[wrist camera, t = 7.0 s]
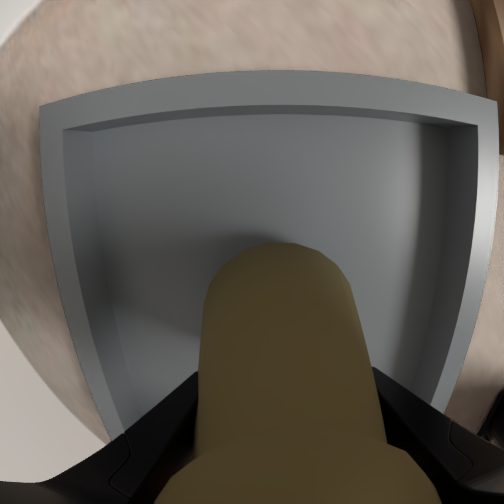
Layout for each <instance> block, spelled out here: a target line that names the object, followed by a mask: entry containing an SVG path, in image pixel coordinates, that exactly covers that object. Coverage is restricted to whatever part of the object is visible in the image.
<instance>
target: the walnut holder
mask: <svg viewBox="0 0 504 504" xmlns="http://www.w3.org/2000/svg"><path fill="white" fill-rule="evenodd" d="M471 4H472V8H473V12H474V16H475V20H476V25H477V29H478V34H479V39H480V45H481V50H482V56H483V63H484V70H485V78H486V86H487V96H488V99H490V100H493V101H497V108H498V126H499V155H504V0H471Z"/></svg>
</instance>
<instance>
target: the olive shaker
mask: <svg viewBox="0 0 504 504" xmlns="http://www.w3.org/2000/svg"><path fill="white" fill-rule="evenodd" d="M154 504H442V502H441V500H440V498H439V495H438V493H437V490H436V488H435V486H434V485H433V483H432V482H431V481H430V479H429V478H428V477H427V475H426V474H425V473H424V471H423V470H422V469H421V468H420V467H419V466H418V465H417V463H416V462H415V461H414V460H413V459H412V458H411V456H410V455H409V454H408V453H407V452H406V451H404V450H401V449H399V448H396V447H394V446H391V445H389V444H387V439H386V434H385V428H384V423H383V418H382V413H381V408H380V403H379V398H378V393H377V389H376V384H375V380H374V375H373V371H372V366H371V362H370V358H369V354H368V350H367V346H366V342H365V338H364V334H363V330H362V326H361V322H360V318H359V315H358V311H357V307H356V304H355V300H354V296H353V293H352V289H351V286H350V283H349V282H348V280H347V279H346V277H345V275H344V274H343V272H342V271H341V269H340V268H339V266H338V265H337V264H336V263H334V262H333V261H332V260H330V259H329V258H328V257H326V256H325V255H324V254H322V253H321V252H320V251H318V250H315V249H312V248H308V247H305V246H302V245H299V244H296V243H267V244H263V245H260V246H257V247H254V248H250V249H247V250H244V251H242V252H241V253H240V254H238V255H237V256H235V257H234V258H232V259H231V260H230V261H228V262H227V263H225V264H224V265H223V266H222V267H221V269H220V270H219V272H218V273H217V274H216V276H215V277H214V278H213V280H212V281H211V283H210V284H209V288H208V291H207V295H206V298H205V302H204V305H203V316H202V327H201V339H200V351H199V364H198V405H197V411H196V417H195V426H194V447H193V461H191V462H190V463H189V464H188V465H186V466H185V467H184V468H182V469H181V470H180V471H179V472H177V473H176V474H175V475H173V476H172V477H171V478H170V479H169V481H168V482H167V484H166V485H165V487H164V488H163V490H162V491H161V493H160V494H159V496H158V497H157V499H156V500H155V503H154Z"/></svg>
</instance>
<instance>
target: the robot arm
mask: <svg viewBox="0 0 504 504" xmlns="http://www.w3.org/2000/svg"><path fill="white" fill-rule="evenodd" d="M372 371H373V375H374V380H375V384H376V389H377V393H378V398H379V403H380V408H381V413H382V418H383V423H384V428H385V434H386V439H387V444H389V445H391V446H394V447H396V448H399V449H401V450H404V451H406V452H407V453H408V454H409V455H410V456H411V458H412V459H413V460H414V461H415V462H416V463H417V465H418V466H419V467H420V468H421V469H422V470H423V471H424V473H425V474H426V475H427V477H428V478H429V479H430V481H431V482H432V483H433V485H434V486H435V488H436V490H437V493H438V495H439V498H440V500H441V502H442V504H504V391H502V392H501V393H500V394H499V396H498V398H497V400H496V402H495V404H494V406H493V408H492V410H491V412H490V414H489V416H488V418H487V420H486V421H485V423H484V425H483V427H482V429H481V431H480V432H479V434H478V436H477V435H476V434H474V433H472V432H471V431H469V430H467V429H466V428H464V427H463V426H461V425H460V424H458V423H457V422H455V421H451V419H450V418H449V417H447V416H446V415H444V414H443V413H441V412H440V411H438V410H437V409H436V408H434V407H433V406H431V405H430V404H428V403H427V402H425V401H424V400H422V399H421V398H419V397H418V396H416V395H415V394H413V393H412V392H411V391H409V390H408V389H406V388H405V387H403V386H402V385H400V384H399V383H397V382H396V381H395V380H393V379H392V378H390V377H389V376H387V375H386V374H384V373H383V372H382V371H380V370H379V369H377V368H376V367H374V366H372ZM197 405H198V371H196V372H194V373H193V374H192V375H191V376H189V377H188V378H187V379H186V380H185V381H184V382H182V383H181V384H180V385H179V386H178V387H177V388H176V389H174V390H173V391H172V392H171V393H170V394H168V395H167V396H166V397H165V398H164V399H163V400H161V401H160V402H159V403H158V404H157V405H155V406H154V407H153V408H152V409H151V410H150V411H148V412H147V413H146V414H145V415H143V416H142V417H141V418H140V419H139V420H137V421H136V422H135V423H134V424H133V425H131V426H130V427H129V428H128V429H126V430H125V431H124V433H121V434H120V435H119V436H118V437H116V438H115V439H114V440H113V441H111V442H110V443H109V444H107V445H106V446H105V447H103V448H102V449H100V450H99V451H97V452H96V453H94V454H93V455H91V456H90V457H88V458H86V459H85V460H83V461H81V462H80V463H78V464H76V465H75V466H73V467H71V468H69V469H68V470H66V471H64V472H62V473H61V474H59V475H57V476H55V477H53V478H51V479H49V480H46V481H43V482H37V483H21V482H6V481H0V504H154V503H155V500H156V499H157V497H158V496H159V494H160V493H161V491H162V490H163V488H164V487H165V485H166V484H167V482H168V481H169V479H170V478H171V477H172V476H173V475H175V474H176V473H177V472H179V471H180V470H181V469H182V468H184V467H185V466H186V465H188V464H189V463H190V462H191V461H193V447H194V426H195V417H196V411H197Z"/></svg>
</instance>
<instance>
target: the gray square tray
mask: <svg viewBox="0 0 504 504" xmlns="http://www.w3.org/2000/svg"><path fill="white" fill-rule="evenodd" d="M39 127H40V161H41V176H42V188H43V198H44V207H45V215H46V223H47V230H48V236H49V242H50V248H51V254H52V259H53V265H54V270H55V274H56V279H57V284H58V288H59V292H60V296H61V301H62V305H63V309H64V312H65V316H66V320H67V323H68V327H69V330H70V334H71V337H72V340H73V344H74V347H75V350H76V353H77V356H78V359H79V362H80V365H81V368H82V371H83V374H84V377H85V379H86V382H87V385H88V387H89V390H90V393H91V395H92V398H93V400H94V403H95V405H96V408H97V410H98V412H99V415H100V417H101V419H102V422H103V424H104V426H105V428H106V431H107V433H108V435H109V437H110V439H111V441H113V440H114V439H115V438H116V437H118V436H119V435H120V434H121V433H124V431H125V430H126V429H128V428H129V427H130V426H131V425H133V424H134V423H135V422H136V421H137V420H139V419H140V418H141V417H142V416H143V415H145V414H146V413H147V412H148V411H150V410H151V409H152V408H153V407H154V406H155V405H157V404H158V403H159V402H160V401H161V400H163V399H164V398H165V397H166V396H167V395H168V394H170V393H171V392H172V391H173V390H174V389H176V388H177V387H178V386H179V385H180V384H181V383H182V382H184V381H185V380H186V379H187V378H188V377H189V376H191V375H192V374H193V373H194V372H196V371H198V364H199V351H200V339H201V327H202V316H203V305H204V302H205V298H206V295H207V291H208V288H209V284H210V283H211V281H212V280H213V278H214V277H215V276H216V274H217V273H218V272H219V270H220V269H221V267H222V266H223V265H224V264H225V263H227V262H228V261H230V260H231V259H232V258H234V257H235V256H237V255H238V254H240V253H241V252H242V251H244V250H247V249H250V248H254V247H257V246H260V245H263V244H267V243H296V244H299V245H302V246H305V247H308V248H312V249H315V250H318V251H320V252H321V253H322V254H324V255H325V256H326V257H328V258H329V259H330V260H332V261H333V262H334V263H336V264H337V265H338V266H339V268H340V269H341V271H342V272H343V274H344V275H345V277H346V279H347V280H348V282H349V283H350V286H351V289H352V293H353V296H354V300H355V304H356V307H357V311H358V315H359V318H360V322H361V326H362V330H363V334H364V338H365V342H366V346H367V350H368V354H369V358H370V362H371V366H374V367H376V368H377V369H379V370H380V371H382V372H383V373H384V374H386V375H387V376H389V377H390V378H392V379H393V380H395V381H396V382H397V383H399V384H400V385H402V386H403V387H405V388H406V389H408V390H409V391H411V392H412V393H413V394H415V395H416V396H418V397H419V398H421V399H422V400H424V401H425V402H427V403H428V404H430V405H431V406H433V407H434V408H436V409H437V410H438V411H440V412H441V413H443V414H444V412H445V409H446V407H447V405H448V402H449V400H450V397H451V395H452V392H453V390H454V387H455V385H456V382H457V380H458V377H459V374H460V371H461V369H462V366H463V363H464V360H465V357H466V354H467V351H468V348H469V344H470V341H471V338H472V334H473V331H474V328H475V324H476V320H477V316H478V313H479V309H480V305H481V300H482V296H483V292H484V287H485V282H486V278H487V272H488V267H489V261H490V256H491V249H492V243H493V235H494V227H495V219H496V208H497V196H498V178H499V126H498V108H497V101H493V100H490V99H487V98H483V97H480V96H476V95H472V94H468V93H464V92H460V91H456V90H452V89H447V88H443V87H438V86H433V85H428V84H423V83H418V82H412V81H406V80H400V79H393V78H386V77H378V76H370V75H361V74H350V73H338V72H322V71H295V70H262V71H235V72H219V73H206V74H196V75H186V76H178V77H170V78H163V79H156V80H150V81H143V82H138V83H132V84H127V85H121V86H116V87H112V88H107V89H102V90H98V91H94V92H90V93H85V94H81V95H78V96H74V97H70V98H66V99H63V100H59V101H56V102H52V103H49V104H46V105H43V106H40V119H39Z"/></svg>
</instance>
